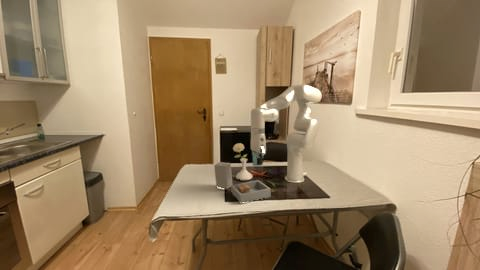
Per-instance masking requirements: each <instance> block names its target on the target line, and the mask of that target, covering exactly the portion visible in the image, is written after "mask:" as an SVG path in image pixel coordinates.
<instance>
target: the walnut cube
mask: <svg viewBox="0 0 480 270" xmlns="http://www.w3.org/2000/svg"><path fill="white" fill-rule="evenodd" d="M238 191H239V192H240V193H241V194H244V193H249V192H250V187H249V186H248V185H246V184H245V185H240V186H238Z"/></svg>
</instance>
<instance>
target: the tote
mask: <svg viewBox="0 0 480 270" xmlns="http://www.w3.org/2000/svg"><path fill="white" fill-rule="evenodd" d="M245 184H246V185H248V186H249V187H250V192H249V193H244V194H241V193H240V192H239V191H238V186H240V185H245ZM271 190H272V189H271V188H270V187H269V186H267V185H266V184H265V183H263V182H262V181H260V180H259V179H258V180H251V181H248V182H247V181H245V182H242V183H238V184H233V185H231V189H230V193H231V192H232V193H233V195H234V196H235V197H236V198H237V199H238V200H239V201H240V202H241V203H242V202H247V201H253V200H257V201H260V200H259V199H261V200H264V199H263V198H265V199H270V198H271V197H272V195H271V194H272V191H271ZM233 195H232V196H233ZM234 196H233V197H234ZM235 197H234V198H235ZM269 197H270V198H269ZM253 202H254V201H253Z"/></svg>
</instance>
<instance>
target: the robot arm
mask: <svg viewBox="0 0 480 270" xmlns="http://www.w3.org/2000/svg"><path fill="white" fill-rule="evenodd" d="M322 97H323V95H322V92H321V91H320V89H318V88H316V87H314V86H311V85H308V84H294V85H291V86H289V87H288V88H286V89H285V90H284V91H283V92H282V93H281V94H280V95H278V96H276V97H274V98H272V99H269V100H267V101H266V102H264V103H262V104H261V105H259V106H258V107H257V108H252V109H251V111H250V150H251V157H252V158H251V159H252V160H251V161H252V163H253V152H257V154H258V158H257V165H261V166H262V165H263V163H264V162H263V161H264V160H263V159H264V156H265V155H266V152H267V142H266V141H267V140H266V134H265V131H266V130H265V129H266V127H265V125H266V124H265V123H266V122H270V123H271V122H275V121H276V120H277V119H278V118H279V111H280V110H284V109H287V108H289V106H291V105H292V104H293V103H294V102H297V106H298V111H297V114H296V117H295V120H294V123H293V129H294V130H295V131H296V132H290V133H288V134H287V135H286V138H285V142H286V143H285V144H286V148H287V150H286V151H287V160H286V161H287V165H286V167H287V169H286V170H287V171H286V172H287V174H286V175H285V176H284V180H285V181H286V182H289V183H291V184H293V183H294V184H299V183H303V182H305V176H308V175H309V173H308V172H303V151H302V150H306V151H307V150H310V149H311V148H312V147H313V145H314V144H315V139H316V137H317V134H318V131H319V126H320V125H319V121H318V119H316V118H313V117H311V116H312V108H311V106H310V105H309V104H317V103H319V102H321V100H322ZM259 153H261V154H260V155H259Z"/></svg>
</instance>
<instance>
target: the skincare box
mask: <svg viewBox="0 0 480 270" xmlns="http://www.w3.org/2000/svg"><path fill="white" fill-rule="evenodd" d="M213 166H214V167H213V168H214V175H215V176H214V177H215V184H216V186H218V187H221V188H226V189H228V188H229V187H231V185H234V184H233V176H232V173H233V172H232V164H231V162H223V161H219V162H218V163H216V164H214V165H213Z"/></svg>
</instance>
